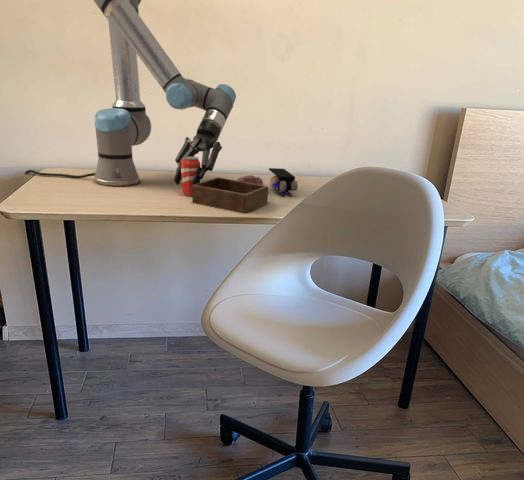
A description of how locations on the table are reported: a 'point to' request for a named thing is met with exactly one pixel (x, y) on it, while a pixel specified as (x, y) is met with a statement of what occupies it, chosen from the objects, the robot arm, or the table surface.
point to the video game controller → (251, 179)
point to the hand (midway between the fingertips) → (184, 184)
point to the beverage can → (188, 173)
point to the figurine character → (283, 181)
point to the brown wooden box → (230, 194)
